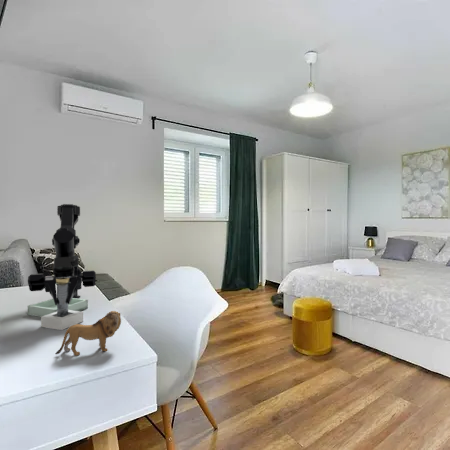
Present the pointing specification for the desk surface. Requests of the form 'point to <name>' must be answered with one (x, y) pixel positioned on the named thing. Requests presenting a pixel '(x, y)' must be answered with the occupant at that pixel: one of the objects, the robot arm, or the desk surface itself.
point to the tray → (55, 307)
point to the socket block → (61, 320)
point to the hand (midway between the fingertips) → (62, 303)
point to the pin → (62, 296)
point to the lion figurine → (92, 332)
